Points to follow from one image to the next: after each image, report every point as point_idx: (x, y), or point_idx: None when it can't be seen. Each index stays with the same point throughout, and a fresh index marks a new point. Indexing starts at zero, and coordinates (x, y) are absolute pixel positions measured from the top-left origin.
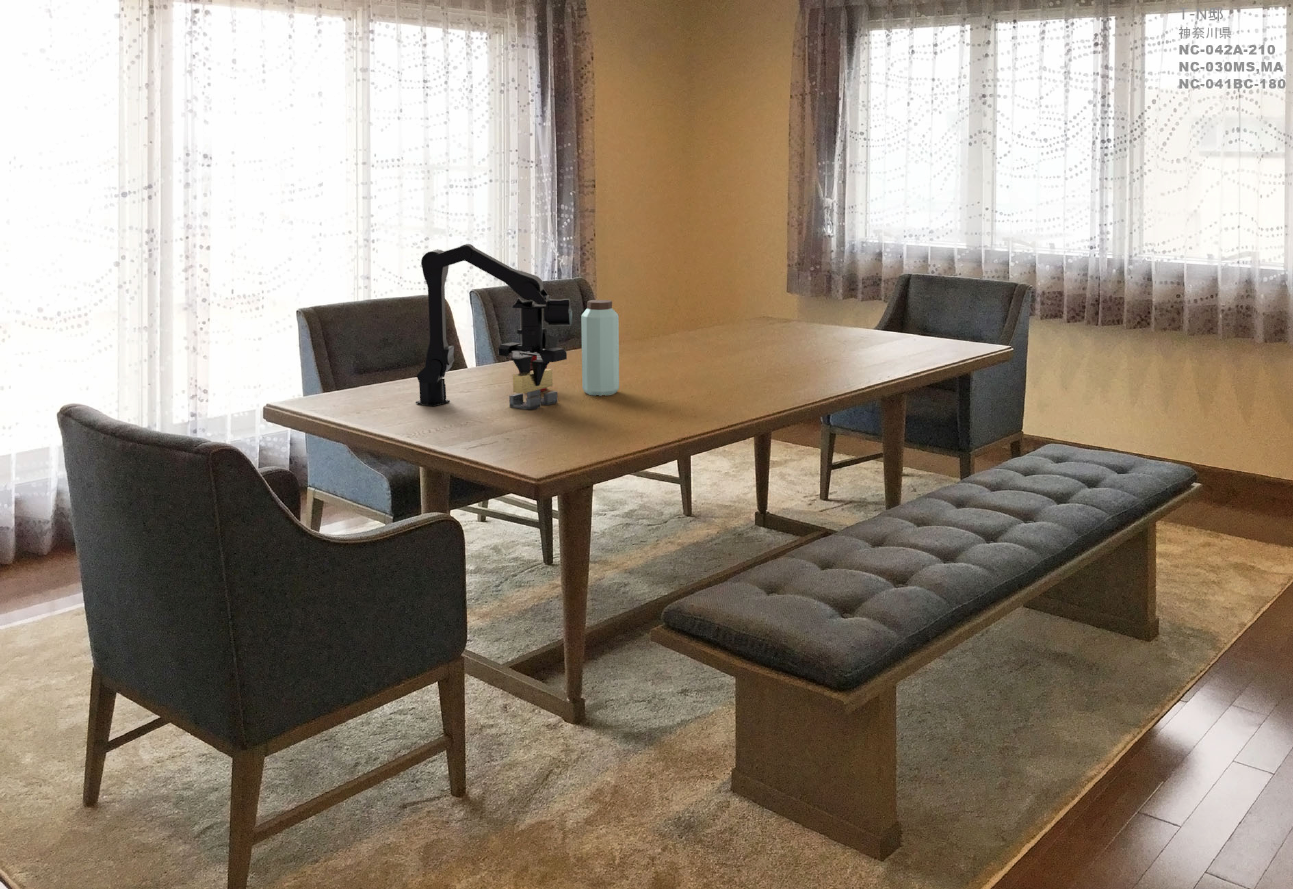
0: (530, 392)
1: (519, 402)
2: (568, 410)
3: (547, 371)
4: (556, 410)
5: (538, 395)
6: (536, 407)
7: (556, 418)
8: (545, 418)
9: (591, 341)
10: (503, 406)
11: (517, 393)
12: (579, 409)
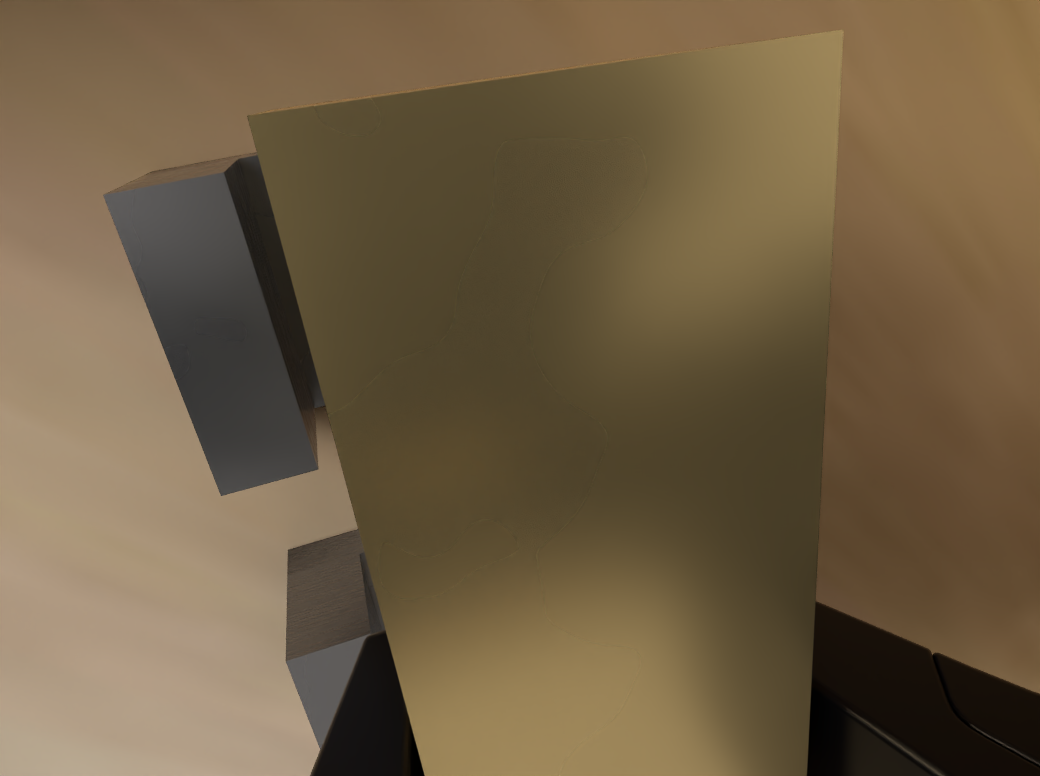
0: (312, 461)
1: (378, 620)
2: (953, 300)
3: (800, 355)
4: (854, 397)
5: (253, 223)
6: None
7: (1018, 572)
8: (947, 638)
9: None
10: (261, 740)
11: (301, 696)
12: (1026, 171)
